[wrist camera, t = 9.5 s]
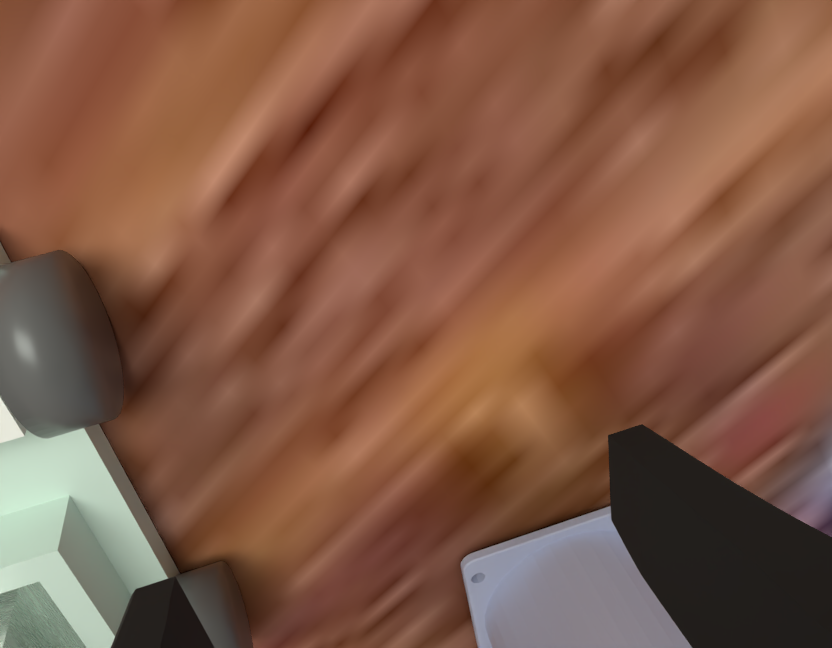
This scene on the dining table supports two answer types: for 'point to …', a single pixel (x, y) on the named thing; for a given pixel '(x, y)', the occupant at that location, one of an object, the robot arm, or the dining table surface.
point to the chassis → (79, 464)
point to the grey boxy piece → (34, 620)
